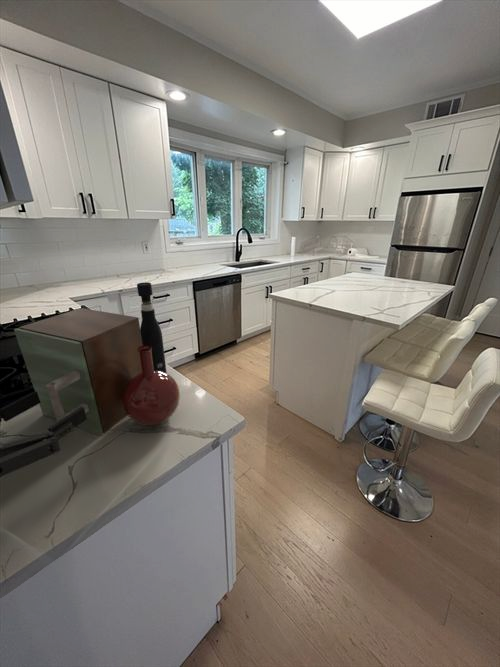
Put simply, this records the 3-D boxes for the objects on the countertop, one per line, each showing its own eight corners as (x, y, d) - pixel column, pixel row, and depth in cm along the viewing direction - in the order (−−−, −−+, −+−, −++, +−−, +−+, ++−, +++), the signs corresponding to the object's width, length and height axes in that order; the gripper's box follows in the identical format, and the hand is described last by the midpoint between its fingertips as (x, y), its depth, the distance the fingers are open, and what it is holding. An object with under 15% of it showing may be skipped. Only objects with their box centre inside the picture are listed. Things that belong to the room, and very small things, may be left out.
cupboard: (104, 433, 65) (82, 341, 56) (47, 412, 72) (18, 327, 63) (150, 396, 79) (138, 317, 70) (98, 381, 86) (81, 307, 77)
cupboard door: (76, 456, 59) (45, 357, 50) (16, 430, 66) (-21, 339, 57) (103, 434, 65) (81, 342, 56) (46, 412, 72) (17, 328, 63)
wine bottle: (151, 369, 93) (139, 280, 81) (170, 371, 92) (159, 281, 81) (142, 379, 87) (127, 285, 76) (161, 381, 86) (149, 286, 75)
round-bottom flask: (165, 442, 63) (154, 365, 55) (115, 432, 66) (98, 357, 58) (190, 407, 75) (184, 339, 67) (147, 399, 78) (137, 334, 70)
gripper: (-49, 507, 32) (101, 404, 51) (-144, 445, 41) (15, 376, 59) (-26, 547, 35) (109, 435, 53) (-118, 482, 44) (25, 405, 62)
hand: (60, 404), depth 56 cm, fingers open, 13 cm apart
